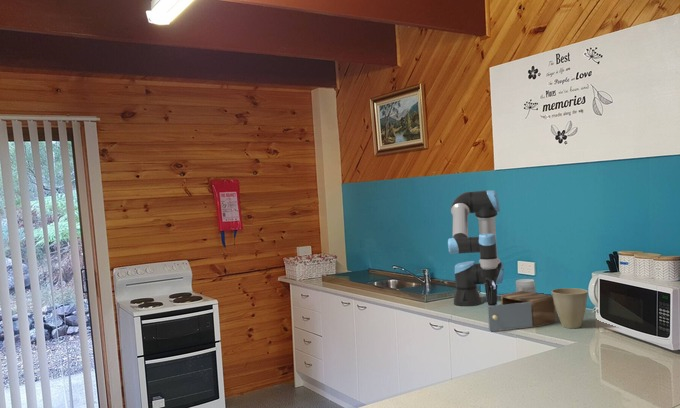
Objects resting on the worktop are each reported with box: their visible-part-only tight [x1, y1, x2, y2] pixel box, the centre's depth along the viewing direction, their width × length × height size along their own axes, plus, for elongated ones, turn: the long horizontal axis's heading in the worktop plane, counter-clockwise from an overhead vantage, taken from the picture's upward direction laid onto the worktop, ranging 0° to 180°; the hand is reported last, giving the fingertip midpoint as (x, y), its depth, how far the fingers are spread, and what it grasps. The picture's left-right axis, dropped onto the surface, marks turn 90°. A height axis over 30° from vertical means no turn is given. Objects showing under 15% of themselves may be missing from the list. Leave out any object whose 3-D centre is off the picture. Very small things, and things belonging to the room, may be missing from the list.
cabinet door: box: [486, 302, 534, 332], centre depth 240 cm, size 20×3×11 cm, turn 94°
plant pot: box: [551, 287, 589, 329], centre depth 239 cm, size 15×15×16 cm
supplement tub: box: [515, 278, 537, 293], centre depth 279 cm, size 10×10×15 cm
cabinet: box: [500, 291, 557, 328], centre depth 254 cm, size 20×14×12 cm
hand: (492, 319), depth 245 cm, fingers closed
